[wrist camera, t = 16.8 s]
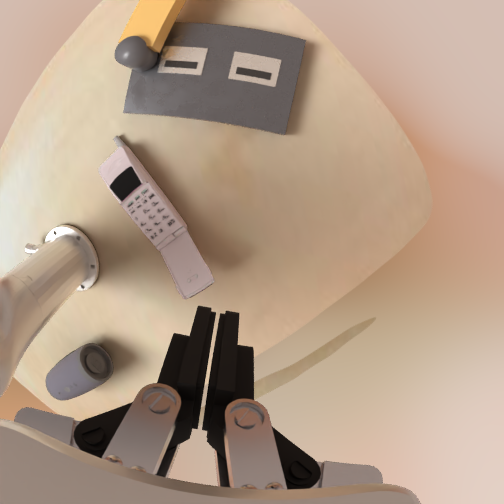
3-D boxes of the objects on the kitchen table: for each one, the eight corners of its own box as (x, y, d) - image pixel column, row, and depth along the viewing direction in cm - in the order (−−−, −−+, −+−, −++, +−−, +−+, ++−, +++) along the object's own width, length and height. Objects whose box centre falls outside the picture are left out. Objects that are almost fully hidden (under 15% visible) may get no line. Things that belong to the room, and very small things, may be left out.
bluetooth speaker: (79, 383, 57) (65, 409, 48) (54, 360, 54) (37, 385, 45) (122, 359, 51) (106, 393, 42) (91, 330, 48) (70, 362, 39)
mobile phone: (185, 302, 38) (75, 163, 30) (192, 281, 44) (96, 158, 35) (218, 282, 37) (104, 133, 28) (221, 262, 42) (123, 132, 34)
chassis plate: (129, 113, 33) (122, 112, 30) (150, 27, 27) (144, 22, 25) (283, 135, 34) (285, 135, 32) (303, 44, 29) (306, 39, 27)
